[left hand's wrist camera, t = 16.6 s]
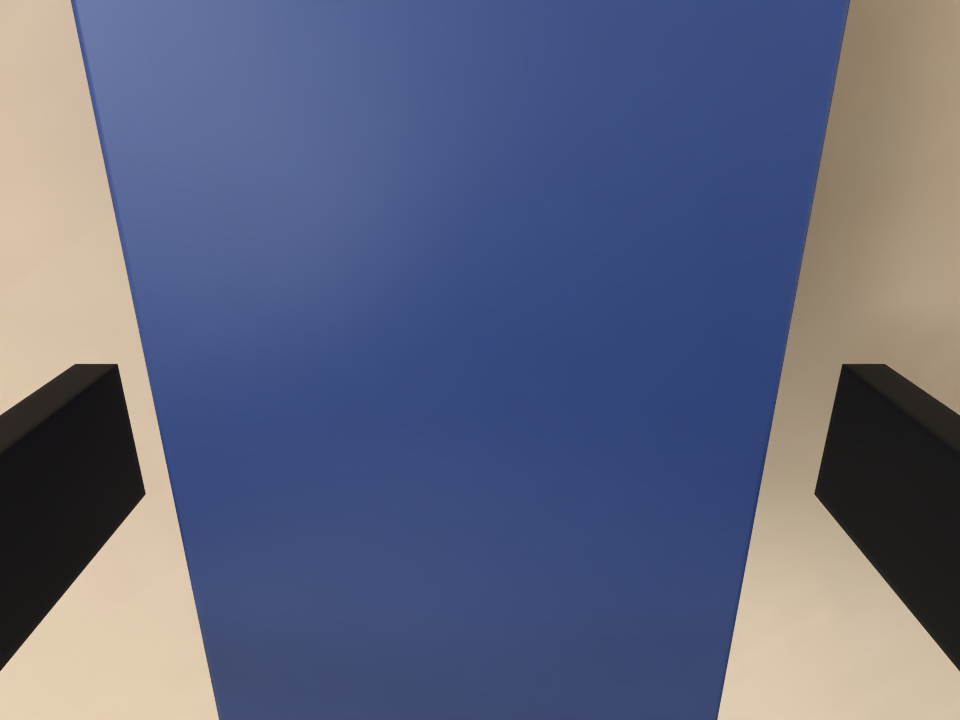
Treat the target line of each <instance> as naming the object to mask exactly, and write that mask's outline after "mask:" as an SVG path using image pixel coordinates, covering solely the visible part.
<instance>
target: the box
mask: <svg viewBox="0 0 960 720" xmlns="http://www.w3.org/2000/svg"><path fill="white" fill-rule="evenodd" d="M71 3H72V8H73V13H74V18H75V23H76V27H77V32H78V37H79V42H80V47H81V52H82V57H83V61H84V66H85V71H86V76H87V81H88V86H89V90H90V95H91V100H92V105H93V110H94V115H95V120H96V124H97V129H98V134H99V139H100V144H101V149H102V153H103V158H104V163H105V168H106V173H107V178H108V183H109V187H110V192H111V197H112V202H113V207H114V212H115V217H116V221H117V226H118V231H119V236H120V241H121V246H122V250H123V255H124V260H125V265H126V270H127V275H128V280H129V284H130V289H131V294H132V299H133V304H134V309H135V313H136V318H137V323H138V328H139V333H140V338H141V343H142V347H143V352H144V357H145V362H146V367H147V372H148V376H149V381H150V386H151V391H152V396H153V401H154V406H155V410H156V415H157V420H158V425H159V430H160V435H161V439H162V444H163V449H164V454H165V459H166V464H167V469H168V473H169V478H170V483H171V488H172V493H173V498H174V502H175V507H176V512H177V517H178V522H179V527H180V532H181V536H182V541H183V546H184V551H185V556H186V561H187V566H188V570H189V575H190V580H191V585H192V590H193V595H194V599H195V604H196V609H197V614H198V619H199V624H200V629H201V633H202V638H203V643H204V648H205V653H206V658H207V662H208V667H209V672H210V677H211V682H212V687H213V692H214V696H215V701H216V706H217V711H218V716H219V720H717V718H718V712H719V707H720V702H721V696H722V691H723V685H724V680H725V675H726V669H727V664H728V658H729V653H730V647H731V642H732V637H733V631H734V626H735V620H736V615H737V610H738V604H739V599H740V593H741V588H742V582H743V577H744V572H745V566H746V561H747V555H748V550H749V545H750V539H751V534H752V528H753V523H754V517H755V512H756V507H757V501H758V496H759V490H760V485H761V480H762V474H763V469H764V463H765V458H766V453H767V447H768V442H769V436H770V431H771V425H772V420H773V415H774V409H775V404H776V398H777V393H778V388H779V382H780V377H781V371H782V366H783V360H784V355H785V350H786V344H787V339H788V333H789V328H790V323H791V317H792V312H793V306H794V301H795V295H796V290H797V285H798V279H799V274H800V268H801V263H802V258H803V252H804V247H805V241H806V236H807V230H808V225H809V220H810V214H811V209H812V203H813V198H814V193H815V187H816V182H817V176H818V171H819V165H820V160H821V155H822V149H823V144H824V138H825V133H826V128H827V122H828V117H829V111H830V106H831V100H832V95H833V90H834V84H835V79H836V73H837V68H838V63H839V57H840V52H841V46H842V41H843V36H844V30H845V25H846V19H847V14H848V8H849V3H850V0H71Z"/></svg>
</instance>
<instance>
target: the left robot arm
mask: <svg viewBox="0 0 960 720" xmlns="http://www.w3.org/2000/svg"><path fill="white" fill-rule="evenodd" d="M144 495H145V489H144V484H143V480H142V475H141V470H140V466H139V461H138V457H137V452H136V447H135V443H134V438H133V433H132V429H131V424H130V419H129V415H128V410H127V406H126V401H125V396H124V392H123V387H122V382H121V378H120V373H119V369H118V364H75V365H73V366H72V367H70V368H69V369H67V370H66V371H64V372H63V373H61V374H60V375H59V376H57V377H56V378H54V379H53V380H51V381H50V382H48V383H47V384H45V385H44V386H43V387H41V388H40V389H38V390H37V391H35V392H34V393H32V394H31V395H29V396H28V397H26V398H25V399H24V400H22V401H21V402H19V403H18V404H16V405H15V406H13V407H12V408H10V409H9V410H7V411H6V412H5V413H3V414H2V415H0V671H1V670H2V668H3V667H4V666H5V665H6V664H7V662H8V661H9V660H10V659H11V657H12V656H13V655H14V654H15V653H16V651H17V650H18V649H19V648H20V647H21V645H22V644H23V643H24V642H25V640H26V639H27V638H28V637H29V636H30V634H31V633H32V632H33V631H34V629H35V628H36V627H37V626H38V625H39V623H40V622H41V621H42V620H43V618H44V617H45V616H46V615H47V614H48V612H49V611H50V610H51V609H52V608H53V606H54V605H55V604H56V603H57V601H58V600H59V599H60V598H61V597H62V595H63V594H64V593H65V592H66V590H67V589H68V588H69V587H70V586H71V584H72V583H73V582H74V581H75V580H76V578H77V577H78V576H79V575H80V573H81V572H82V571H83V570H84V569H85V567H86V566H87V565H88V564H89V562H90V561H91V560H92V559H93V558H94V556H95V555H96V554H97V553H98V551H99V550H100V549H101V548H102V547H103V545H104V544H105V543H106V542H107V541H108V539H109V538H110V537H111V536H112V534H113V533H114V532H115V531H116V530H117V528H118V527H119V526H120V525H121V523H122V522H123V521H124V520H125V519H126V517H127V516H128V515H129V514H130V513H131V511H132V510H133V509H134V508H135V506H136V505H137V504H138V503H139V502H140V500H141V499H142V498H143V497H144ZM815 495H816V497H817V498H818V499H819V500H820V502H821V503H822V504H823V505H824V506H825V508H826V509H827V510H828V511H829V513H830V514H831V515H832V516H833V517H834V519H835V520H836V521H837V522H838V523H839V525H840V526H841V527H842V528H843V530H844V531H845V532H846V533H847V534H848V536H849V537H850V538H851V539H852V541H853V542H854V543H855V544H856V545H857V547H858V548H859V549H860V550H861V551H862V553H863V554H864V555H865V556H866V558H867V559H868V560H869V561H870V562H871V564H872V565H873V566H874V567H875V569H876V570H877V571H878V572H879V573H880V575H881V576H882V577H883V578H884V580H885V581H886V582H887V583H888V584H889V586H890V587H891V588H892V589H893V590H894V592H895V593H896V594H897V595H898V597H899V598H900V599H901V600H902V601H903V603H904V604H905V605H906V606H907V608H908V609H909V610H910V611H911V612H912V614H913V615H914V616H915V617H916V618H917V620H918V621H919V622H920V623H921V625H922V626H923V627H924V628H925V629H926V631H927V632H928V633H929V634H930V636H931V637H932V638H933V639H934V640H935V642H936V643H937V644H938V645H939V647H940V648H941V649H942V650H943V651H944V653H945V654H946V655H947V656H948V657H949V659H950V660H951V661H952V662H953V664H954V665H955V666H956V667H957V668H958V670H959V671H960V415H958V414H957V413H955V412H954V411H953V410H951V409H950V408H948V407H947V406H945V405H944V404H942V403H941V402H939V401H938V400H936V399H935V398H934V397H932V396H931V395H929V394H928V393H926V392H925V391H923V390H922V389H920V388H919V387H917V386H916V385H915V384H913V383H912V382H910V381H909V380H907V379H906V378H904V377H903V376H901V375H900V374H899V373H897V372H896V371H894V370H893V369H891V368H890V367H888V366H887V365H885V364H842V369H841V373H840V378H839V382H838V387H837V392H836V396H835V401H834V406H833V410H832V415H831V419H830V424H829V429H828V433H827V438H826V443H825V447H824V452H823V457H822V461H821V466H820V470H819V475H818V480H817V484H816V489H815Z"/></svg>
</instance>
